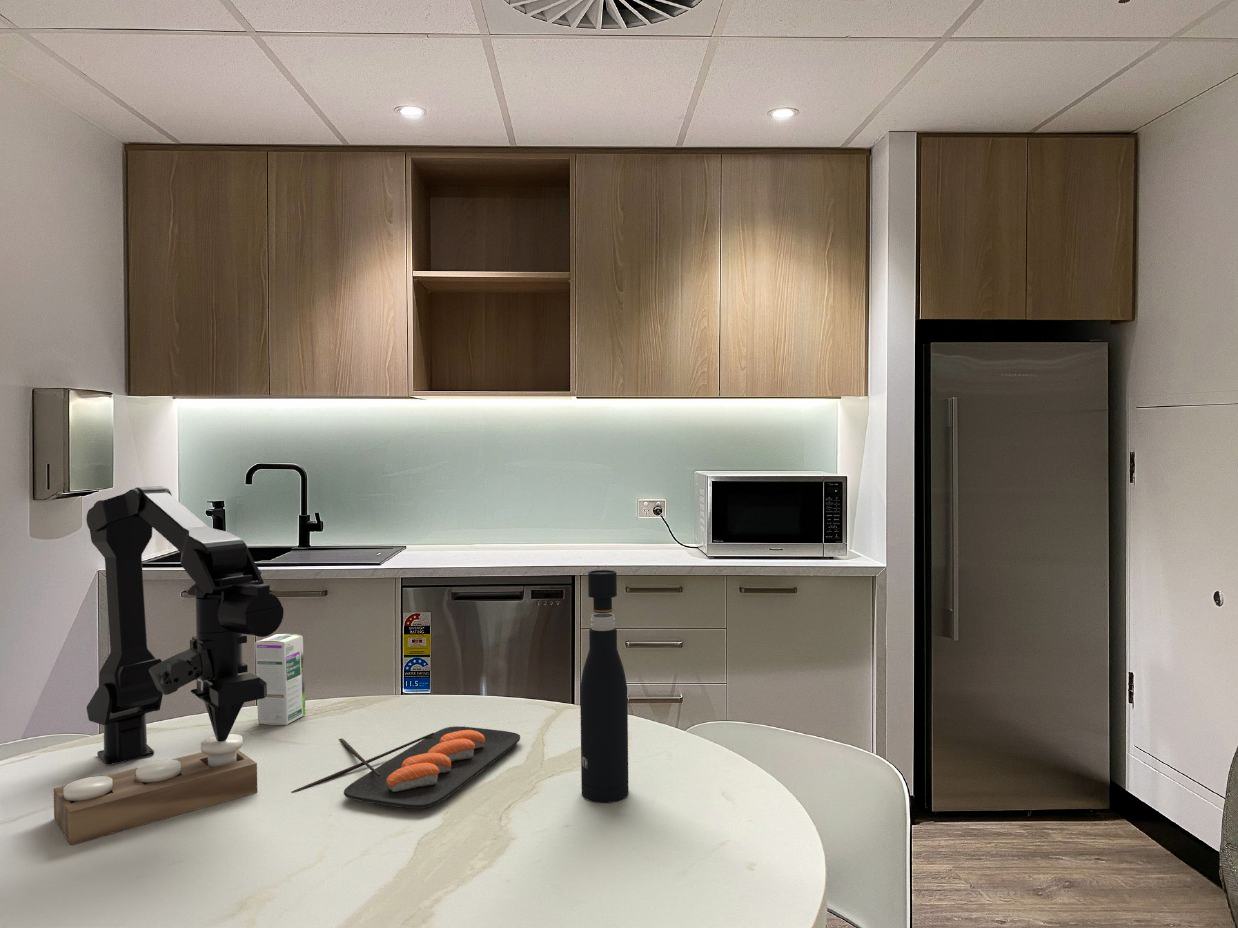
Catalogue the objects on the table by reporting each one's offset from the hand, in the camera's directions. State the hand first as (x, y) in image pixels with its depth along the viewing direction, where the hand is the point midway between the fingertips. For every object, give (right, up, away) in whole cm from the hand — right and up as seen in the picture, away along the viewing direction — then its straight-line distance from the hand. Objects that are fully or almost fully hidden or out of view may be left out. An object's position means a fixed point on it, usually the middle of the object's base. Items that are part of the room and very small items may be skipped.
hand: (221, 740), depth 116 cm
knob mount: (-6, -7, -5) cm, 10 cm away
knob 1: (-11, -6, -11) cm, 17 cm away
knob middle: (-6, -6, -5) cm, 10 cm away
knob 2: (0, -5, 0) cm, 5 cm away
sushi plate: (+22, -7, +8) cm, 24 cm away
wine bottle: (+53, -6, -3) cm, 54 cm away
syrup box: (-4, -6, +30) cm, 30 cm away
